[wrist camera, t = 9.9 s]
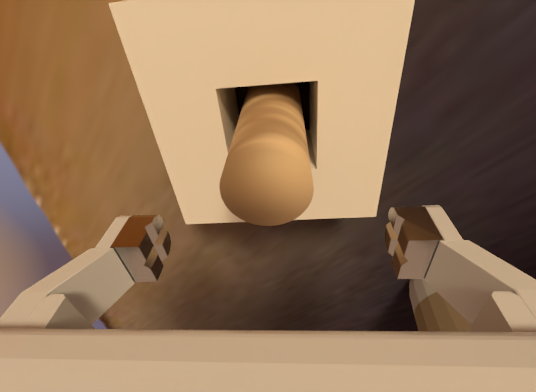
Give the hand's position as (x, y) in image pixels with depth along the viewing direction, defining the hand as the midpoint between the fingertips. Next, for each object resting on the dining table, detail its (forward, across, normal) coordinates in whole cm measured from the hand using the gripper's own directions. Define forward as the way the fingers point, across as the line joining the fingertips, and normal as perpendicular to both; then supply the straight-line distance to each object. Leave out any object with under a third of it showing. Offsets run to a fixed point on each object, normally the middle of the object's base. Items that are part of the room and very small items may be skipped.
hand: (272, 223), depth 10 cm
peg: (+14, +1, 0) cm, 14 cm away
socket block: (+14, +1, 0) cm, 14 cm away
